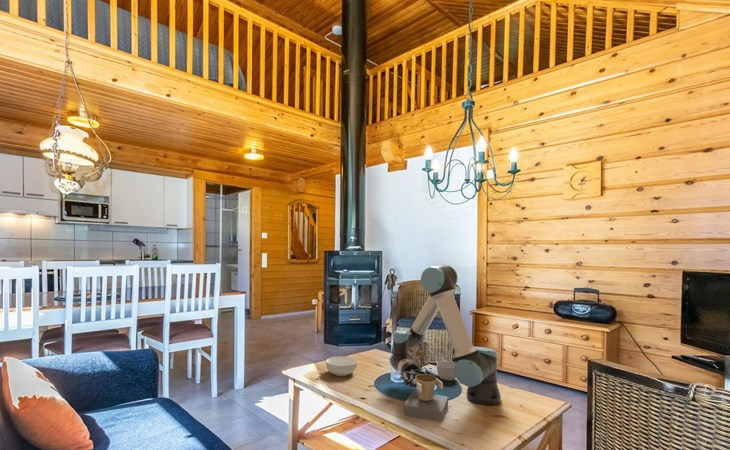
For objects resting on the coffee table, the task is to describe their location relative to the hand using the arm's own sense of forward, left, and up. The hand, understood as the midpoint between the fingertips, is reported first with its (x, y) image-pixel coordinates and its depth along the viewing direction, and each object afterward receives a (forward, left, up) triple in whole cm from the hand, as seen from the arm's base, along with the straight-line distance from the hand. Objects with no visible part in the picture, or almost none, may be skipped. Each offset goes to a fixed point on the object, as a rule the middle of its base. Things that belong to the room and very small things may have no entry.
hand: (431, 387), depth 160 cm
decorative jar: (+21, -56, -12) cm, 61 cm away
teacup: (+1, -46, -12) cm, 48 cm away
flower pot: (+3, -3, -7) cm, 8 cm away
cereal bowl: (+55, -29, -12) cm, 63 cm away
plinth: (+3, -3, -11) cm, 12 cm away
